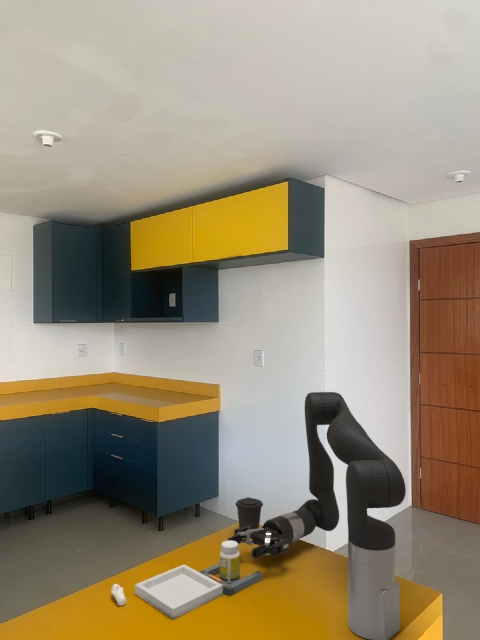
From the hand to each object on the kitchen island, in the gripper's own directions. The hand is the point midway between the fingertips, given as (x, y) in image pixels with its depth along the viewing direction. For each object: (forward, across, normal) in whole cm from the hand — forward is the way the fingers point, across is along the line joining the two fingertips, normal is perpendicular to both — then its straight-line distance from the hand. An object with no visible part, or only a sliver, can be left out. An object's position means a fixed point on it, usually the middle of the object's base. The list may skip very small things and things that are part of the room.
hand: (240, 548), depth 123 cm
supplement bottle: (+4, 0, +6) cm, 7 cm away
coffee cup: (-18, -15, +6) cm, 25 cm away
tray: (+16, -3, +6) cm, 18 cm away
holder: (+4, 0, +6) cm, 7 cm away
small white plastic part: (+28, -10, +7) cm, 30 cm away
